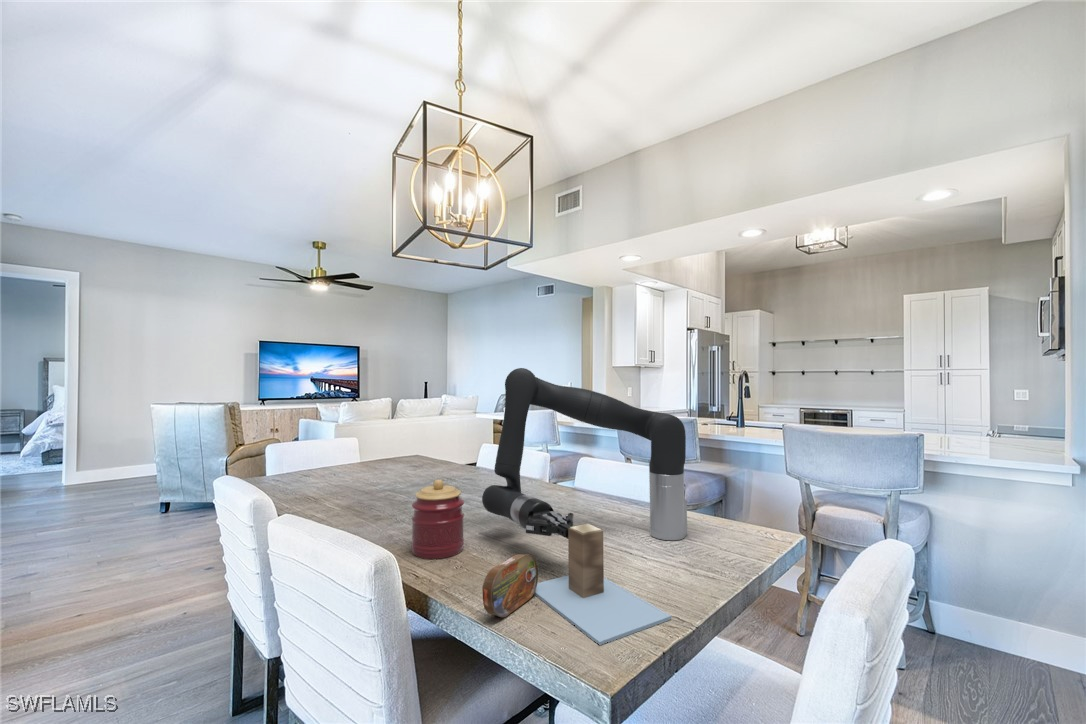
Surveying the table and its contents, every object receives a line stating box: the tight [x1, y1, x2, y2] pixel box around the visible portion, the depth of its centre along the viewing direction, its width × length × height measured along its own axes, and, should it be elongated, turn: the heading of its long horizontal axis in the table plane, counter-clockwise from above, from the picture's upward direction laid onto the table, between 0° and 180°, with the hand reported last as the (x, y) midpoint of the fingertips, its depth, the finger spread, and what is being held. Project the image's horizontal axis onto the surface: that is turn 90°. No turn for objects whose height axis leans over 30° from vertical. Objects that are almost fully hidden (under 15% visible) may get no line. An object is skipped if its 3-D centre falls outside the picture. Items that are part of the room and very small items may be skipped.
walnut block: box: [567, 523, 605, 598], centre depth 93 cm, size 5×5×12 cm
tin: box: [482, 553, 539, 618], centre depth 88 cm, size 15×3×8 cm, turn 148°
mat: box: [533, 574, 672, 646], centre depth 89 cm, size 16×24×1 cm, turn 31°
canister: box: [410, 479, 465, 560], centre depth 118 cm, size 13×13×18 cm
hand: (572, 533), depth 97 cm, fingers closed
